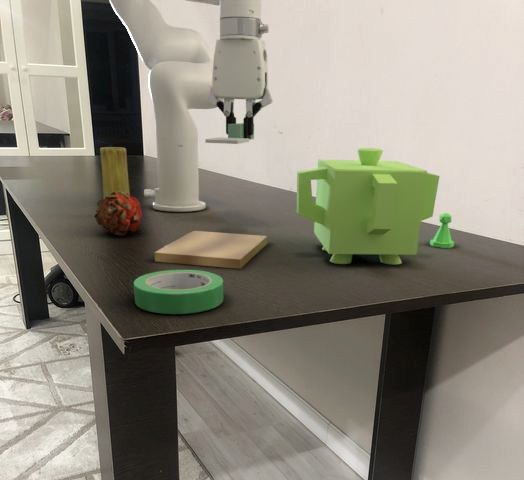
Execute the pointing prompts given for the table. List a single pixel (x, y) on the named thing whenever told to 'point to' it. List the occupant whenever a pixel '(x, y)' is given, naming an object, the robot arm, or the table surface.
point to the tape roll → (178, 291)
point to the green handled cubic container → (367, 206)
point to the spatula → (232, 135)
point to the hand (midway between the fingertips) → (239, 138)
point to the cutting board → (212, 249)
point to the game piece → (443, 233)
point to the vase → (114, 170)
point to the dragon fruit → (119, 213)
